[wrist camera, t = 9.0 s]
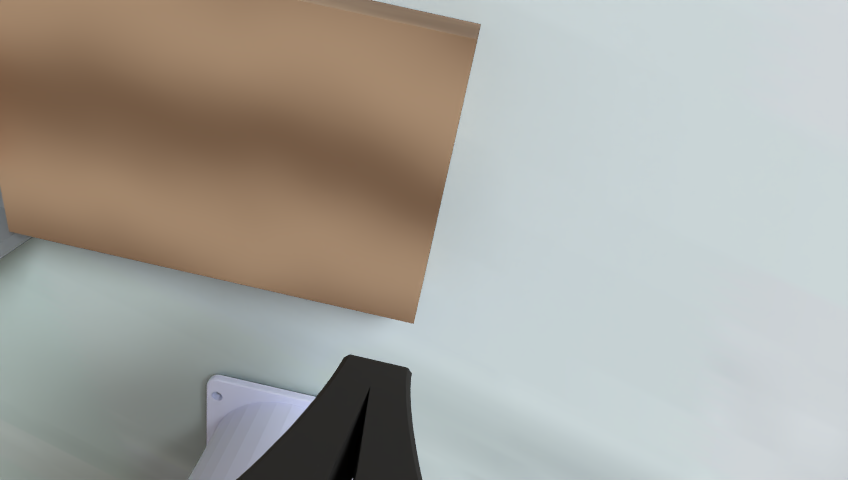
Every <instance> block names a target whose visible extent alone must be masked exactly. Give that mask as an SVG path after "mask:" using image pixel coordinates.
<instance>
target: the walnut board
mask: <svg viewBox="0 0 848 480" xmlns="http://www.w3.org/2000/svg"><path fill="white" fill-rule="evenodd" d="M480 26H481V24H477V23H473V22H468V21H463V20H459V19H454V18H450V17H445V16H441V15H436V14H432V13H427V12H422V11H418V10H413V9H409V8H404V7H400V6H395V5H391V4H386V3H381V2H377V1H372V0H0V187H1V192H2V198H3V203H4V208H5V213H6V219H7V224H8V229H9V232H14V233H18V234H22V235H27V236H31V237H36V238H40V239H44V240H49V241H53V242H58V243H62V244H66V245H71V246H75V247H79V248H84V249H88V250H93V251H97V252H101V253H106V254H110V255H115V256H119V257H123V258H128V259H132V260H137V261H141V262H145V263H150V264H154V265H159V266H163V267H167V268H172V269H176V270H180V271H185V272H189V273H194V274H198V275H202V276H207V277H211V278H216V279H220V280H224V281H229V282H233V283H238V284H242V285H246V286H251V287H255V288H259V289H264V290H268V291H273V292H277V293H281V294H286V295H290V296H295V297H299V298H303V299H308V300H312V301H317V302H321V303H325V304H330V305H334V306H339V307H343V308H347V309H352V310H356V311H360V312H365V313H369V314H374V315H378V316H382V317H387V318H391V319H396V320H400V321H404V322H409V323H413V324H414V319H415V315H416V311H417V306H418V302H419V297H420V293H421V289H422V284H423V280H424V275H425V271H426V266H427V262H428V257H429V253H430V249H431V244H432V240H433V235H434V231H435V226H436V222H437V217H438V213H439V208H440V204H441V200H442V195H443V191H444V186H445V182H446V177H447V173H448V168H449V164H450V159H451V155H452V151H453V146H454V142H455V137H456V133H457V128H458V124H459V119H460V115H461V110H462V106H463V102H464V97H465V93H466V88H467V84H468V79H469V75H470V70H471V66H472V61H473V57H474V53H475V48H476V44H477V39H478V35H479V30H480Z"/></svg>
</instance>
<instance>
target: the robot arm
mask: <svg viewBox="0 0 848 480" xmlns="http://www.w3.org/2000/svg"><path fill="white" fill-rule="evenodd" d="M411 375H412V373H411V372H410V370H409V369H408V368H406V367H402V366H398V365H393V364H389V363H385V362H380V361H376V360H372V359H367V358H363V357H359V356H354V355H348V356H346V357H344V358H343V360H342V362H341V363H340V365H339V367H338V368H337V370H336V371H335V373H334V374H333V376H332V377H331V378H330V380H329V381H328V382H327V384H326V385H325V386H324V388H323V389H322V390H321V392H320V393H319V394H318V395H317V397H314V396H310V395H306V394H301V393H297V392H293V391H288V390H284V389H280V388H275V387H271V386H266V385H262V384H258V383H253V382H249V381H245V380H240V379H236V378H232V377H227V376H223V375H213V376H212V377H211V378H210V379H209V381H208V382H207V446H206V448H205V450H204V452H203V454H202V455H201V457H200V459H199V461H198V462H197V464H196V466H195V468H194V470H193V471H192V473H191V475H190V477H189V478H188V480H422V476H421V472H420V467H419V462H418V456H417V450H416V444H415V438H414V431H413V424H412V413H411V398H410V387H411ZM217 392H218V393H220V394H218V393H217Z"/></svg>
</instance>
